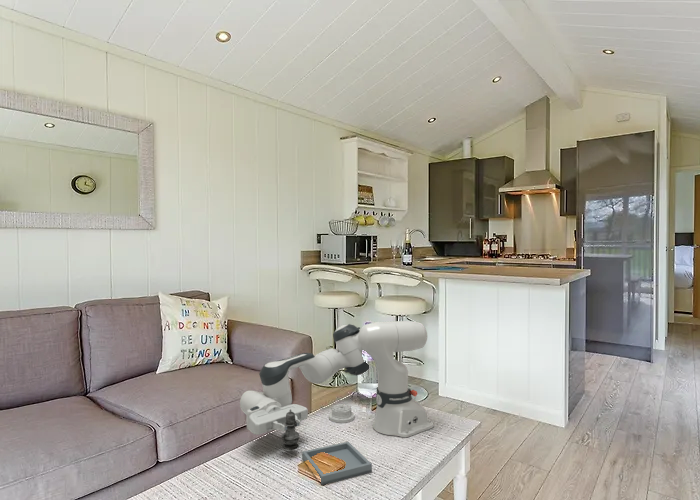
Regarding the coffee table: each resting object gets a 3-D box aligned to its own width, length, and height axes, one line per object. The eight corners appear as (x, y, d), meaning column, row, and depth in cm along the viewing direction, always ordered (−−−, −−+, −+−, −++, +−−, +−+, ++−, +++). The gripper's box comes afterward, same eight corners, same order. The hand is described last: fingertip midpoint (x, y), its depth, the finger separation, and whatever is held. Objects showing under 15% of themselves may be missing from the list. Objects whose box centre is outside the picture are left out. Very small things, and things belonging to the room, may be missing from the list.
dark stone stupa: (291, 452, 138) (291, 414, 137) (277, 447, 141) (277, 410, 141) (303, 444, 143) (303, 408, 142) (289, 440, 146) (289, 404, 146)
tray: (348, 449, 146) (348, 441, 145) (371, 472, 131) (371, 463, 131) (302, 459, 138) (302, 451, 138) (321, 485, 124) (321, 476, 124)
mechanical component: (325, 422, 167) (351, 424, 165) (325, 411, 167) (351, 413, 165) (332, 412, 177) (356, 414, 175) (332, 401, 177) (356, 403, 175)
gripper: (294, 414, 158) (318, 426, 148) (242, 430, 145) (264, 445, 134) (294, 396, 158) (318, 408, 148) (242, 411, 145) (264, 425, 134)
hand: (292, 426), depth 141 cm, fingers closed on dark stone stupa, 4 cm apart
